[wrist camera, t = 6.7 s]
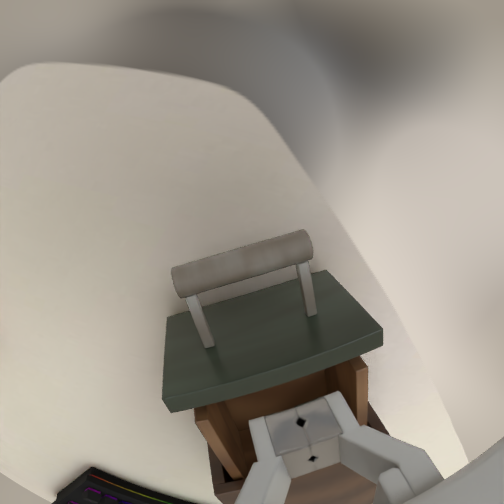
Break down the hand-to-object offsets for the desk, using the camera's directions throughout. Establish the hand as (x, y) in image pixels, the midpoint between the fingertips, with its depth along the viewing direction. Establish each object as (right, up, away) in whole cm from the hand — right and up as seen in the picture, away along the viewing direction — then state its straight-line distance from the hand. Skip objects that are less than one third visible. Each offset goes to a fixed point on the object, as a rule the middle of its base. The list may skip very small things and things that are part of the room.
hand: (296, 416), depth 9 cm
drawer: (-1, -1, +14) cm, 14 cm away
